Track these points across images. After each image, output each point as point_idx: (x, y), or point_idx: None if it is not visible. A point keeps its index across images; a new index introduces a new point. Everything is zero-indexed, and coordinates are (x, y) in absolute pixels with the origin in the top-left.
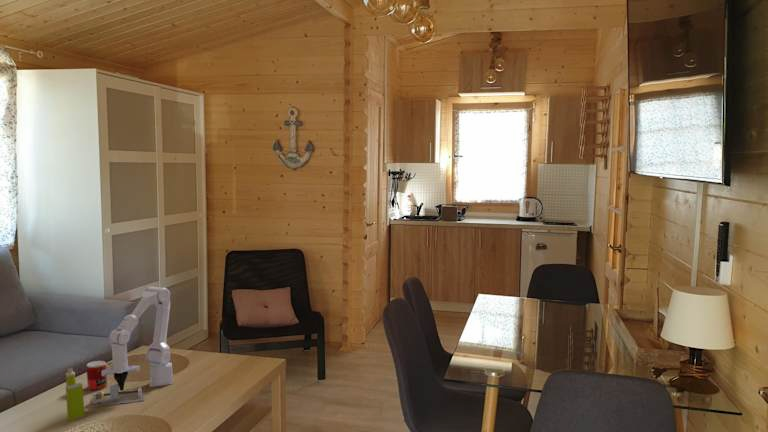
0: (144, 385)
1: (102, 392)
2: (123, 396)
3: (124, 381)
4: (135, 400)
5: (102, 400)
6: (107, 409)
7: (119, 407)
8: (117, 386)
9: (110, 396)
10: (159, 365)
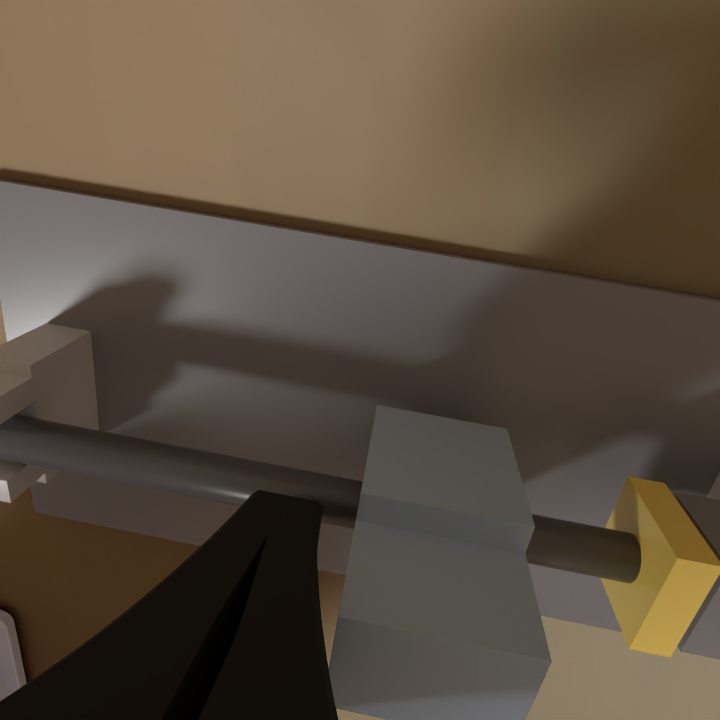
0: None
1: (676, 609)
2: None
3: (78, 654)
4: (121, 246)
5: (605, 520)
6: (619, 89)
7: (392, 75)
8: (357, 602)
9: None
10: None
